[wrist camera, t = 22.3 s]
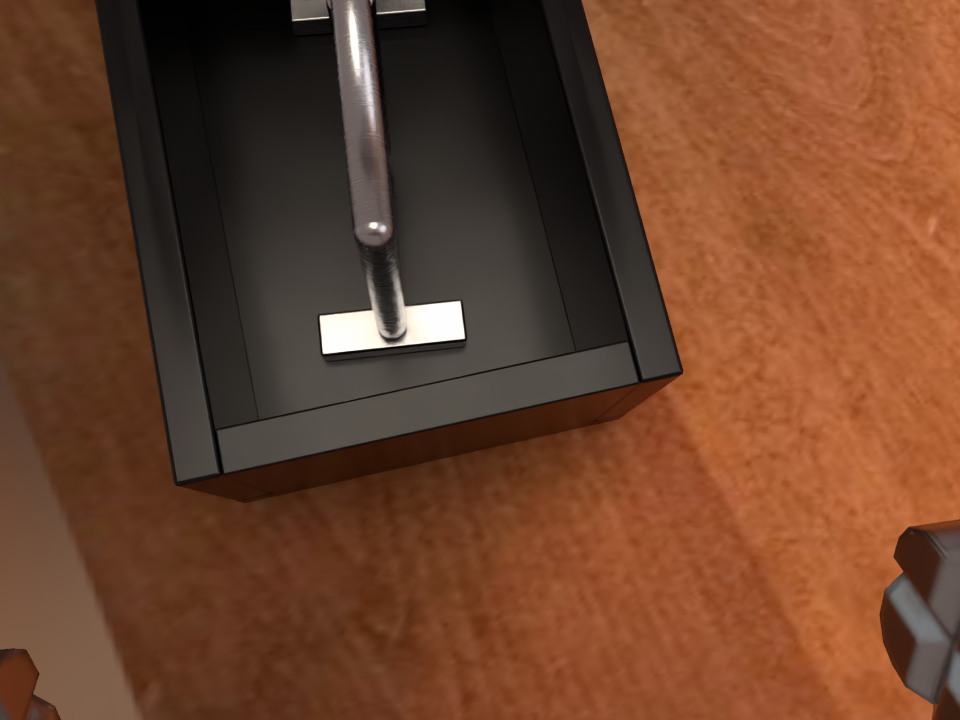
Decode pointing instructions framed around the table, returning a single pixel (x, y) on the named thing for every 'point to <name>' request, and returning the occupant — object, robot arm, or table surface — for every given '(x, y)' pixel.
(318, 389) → the oven
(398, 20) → the rack
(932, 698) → the robot arm
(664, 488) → the table surface
